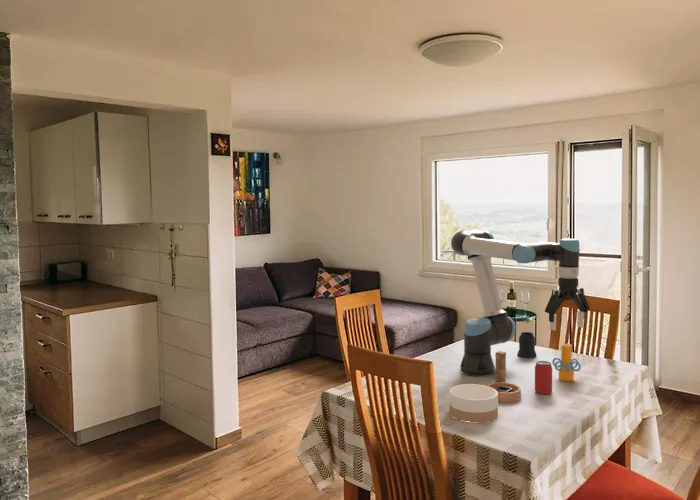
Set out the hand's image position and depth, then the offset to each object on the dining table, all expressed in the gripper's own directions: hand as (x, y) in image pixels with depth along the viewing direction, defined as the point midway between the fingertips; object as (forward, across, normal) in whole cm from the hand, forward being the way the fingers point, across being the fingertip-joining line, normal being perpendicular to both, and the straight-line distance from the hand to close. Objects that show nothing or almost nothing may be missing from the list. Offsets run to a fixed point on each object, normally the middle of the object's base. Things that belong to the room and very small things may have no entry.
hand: (566, 328), depth 226 cm
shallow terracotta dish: (+24, -30, -2) cm, 39 cm away
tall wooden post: (+24, -24, +10) cm, 36 cm away
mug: (+25, +13, +43) cm, 52 cm away
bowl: (+24, -51, -13) cm, 58 cm away
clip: (+24, -30, -2) cm, 39 cm away
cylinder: (+24, +6, +6) cm, 25 cm away
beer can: (+24, -13, -4) cm, 28 cm away
